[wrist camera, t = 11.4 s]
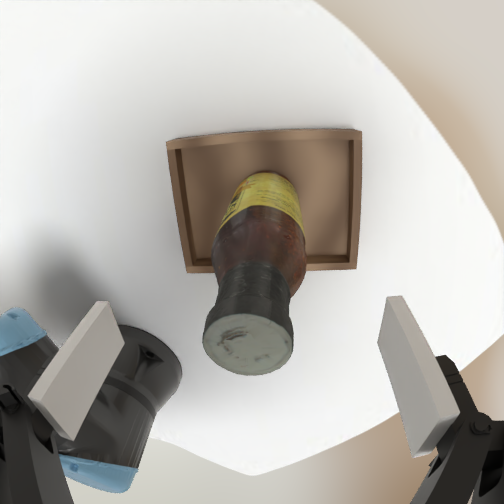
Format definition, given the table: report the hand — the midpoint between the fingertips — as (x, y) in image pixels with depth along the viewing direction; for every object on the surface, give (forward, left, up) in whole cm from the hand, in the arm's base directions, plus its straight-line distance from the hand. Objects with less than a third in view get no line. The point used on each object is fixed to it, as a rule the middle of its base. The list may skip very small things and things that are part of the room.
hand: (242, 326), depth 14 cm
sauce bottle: (0, 0, -19) cm, 19 cm away
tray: (0, 0, -20) cm, 20 cm away
